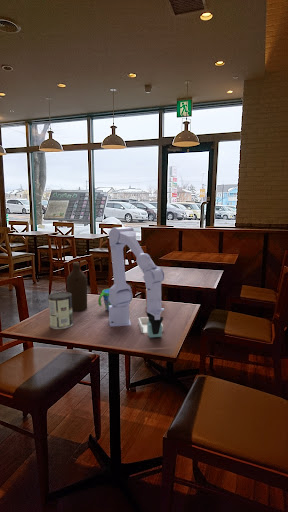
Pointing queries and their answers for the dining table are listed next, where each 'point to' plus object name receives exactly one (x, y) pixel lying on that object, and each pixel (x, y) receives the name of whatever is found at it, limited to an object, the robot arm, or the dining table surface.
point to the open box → (144, 324)
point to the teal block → (150, 333)
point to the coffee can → (60, 310)
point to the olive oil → (77, 288)
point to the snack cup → (105, 298)
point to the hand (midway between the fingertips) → (154, 331)
